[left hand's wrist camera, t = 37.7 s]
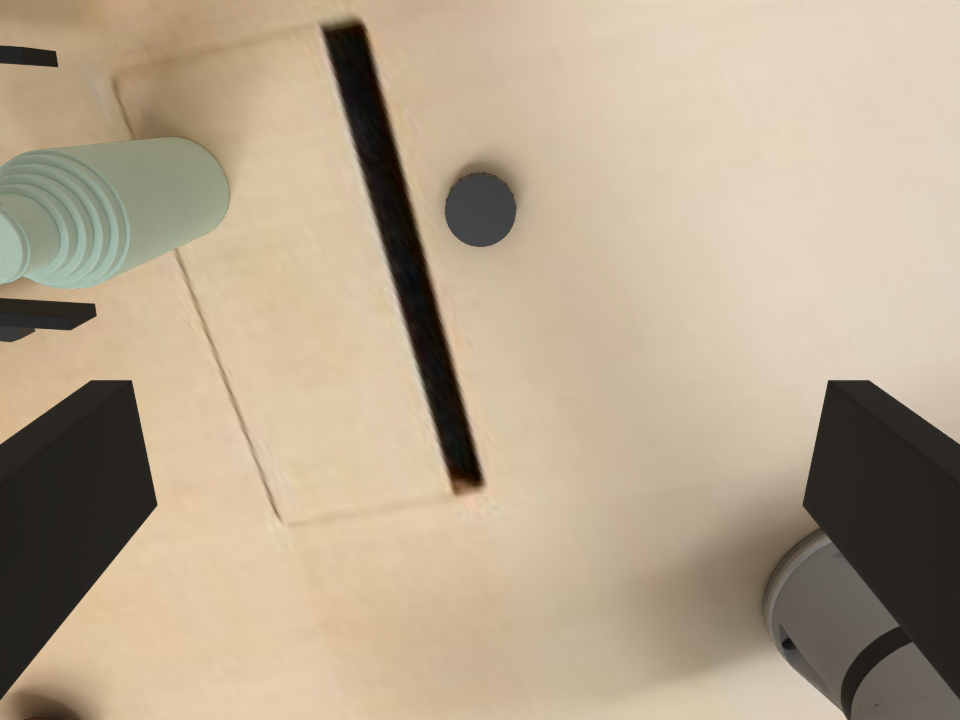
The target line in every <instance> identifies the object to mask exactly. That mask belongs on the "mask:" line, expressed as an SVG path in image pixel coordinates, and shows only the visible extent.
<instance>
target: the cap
mask: <svg viewBox="0 0 960 720" xmlns="http://www.w3.org/2000/svg"><path fill="white" fill-rule="evenodd" d="M515 214H516V205H515V202H514V199H513V193H511V191H510V190H509V188H508V187H507V184H506V183H504V182H503V181H502V180H500V179H499V178H497V177H496V175H495V176H493V175H490V174H486V173H485V172H483V173H475V174H472V173H471V175H468V176H465V177H464V178H462V179H461V178H460V180H459V181H458V182H457V183H456V184H455V185H454V186H453V187H452V188H451V191H450V193H449V196H448V198H447V199H446V207H445V215H446V220H447V224H448V226H449V228H450V230H451V231H452V233H453V234H454V235H455V236H456V237H457V238H458V239H459V240H461V241H462V242H464V243H466V244H468V245H471V246H476V247H485V246H490V245H493V244H495V243H497V242H499V241H500V240H502V239H503V238H504V237H505V236H506V235H507V234H508V233H509V232H510V230H511V228H512V226H513V223H514V221H515Z"/></svg>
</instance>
